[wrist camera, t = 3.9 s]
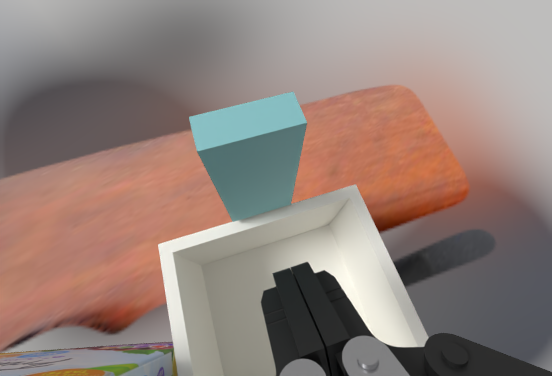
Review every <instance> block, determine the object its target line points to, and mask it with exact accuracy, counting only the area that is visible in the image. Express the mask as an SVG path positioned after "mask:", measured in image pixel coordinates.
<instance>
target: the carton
mask: <svg viewBox="0 0 552 376" xmlns="http://www.w3.org/2000/svg"><path fill="white" fill-rule="evenodd" d="M158 247H159V253H160V260H161V267H162V273H163V280H164V286H165V293H166V300H167V306H168V313H169V319H170V326H171V333H172V339H173V346H174V352H175V359H176V366H177V372H178V376H276V367H275V363H274V358H273V354H272V350H271V345H270V341H269V336H268V332H267V328H266V323H265V319H264V315H263V310H262V306H261V299H262V295H263V291H264V290H267V289H270V288H273V287H276V285H275V281H274V278H273V274H272V273H275V272H278V271H281V270H284V269H287V268H290V269H291V267H293V266H296V265H299V264H302V263H305V262H308V263H309V264H310V266H311V268H312V270H313V271H314V273H317V272H320V271H323V270H325V271H327V272H328V273H330V274H331V275H333V276H334V277H335V278H336V280H337V281H338V283H339V284H340V286H341V288H342V289H343V290H344V292H345V293H346V295H347V297H348V298H349V300H350V301H351V303H352V304H353V306H354V307H355V309H356V310H357V312H358V313H359V315H360V317H361V318H362V320H363V321H364V323H365V324H366V326H367V327H368V329H369V330H370V332H371V333H372V334H373V335H374V336H375V337H376V338H377V339H378V340H380V341H382V342H383V343H385V344H388V345H391V346H395V347H424V346H425V343H426V341H427V340H428V338H429V337H428V335H427V333H426V331H425V329H424V327H423V325H422V323H421V321H420V318H419V317H418V314H417V312H416V310H415V308H414V306H413V304H412V302H411V300H410V297H409V295H408V293H407V291H406V289H405V287H404V285H403V283H402V281H401V279H400V276H399V274H398V272H397V270H396V268H395V266H394V264H393V262H392V260H391V258H390V255H389V254H388V251H387V249H386V247H385V246H384V243H383V241H382V239H381V237H380V234H379V232H378V230H377V228H376V226H375V224H374V222H373V220H372V218H371V216H370V213H369V211H368V209H367V207H366V205H365V203H364V201H363V199H362V197H361V195H360V192H359V190H358V188H357V186H356V184H355V185H352V186H349V187H345V188H342V189H339V190H336V191H332V192H329V193H326V194H322V195H319V196H316V197H312V198H309V199H306V200H303V201H299V202H296V203H293V204H291V205H287V206H284V207H281V208H277V209H274V210H271V211H268V212H264V213H261V214H258V215H254V216H251V217H248V218H244V219H241V220H238V221H235V222H230V223H227V224H223V225H220V226H217V227H213V228H210V229H207V230H204V231H200V232H197V233H194V234H190V235H187V236H184V237H180V238H177V239H174V240H171V241H167V242H164V243H161V244H158Z"/></svg>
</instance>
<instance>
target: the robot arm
mask: <svg viewBox="0 0 552 376" xmlns="http://www.w3.org/2000/svg"><path fill="white" fill-rule="evenodd" d="M272 274H273V278H274V281H275V285H276V287H273V288H270V289H267V290H264V291H263V295H262V299H261V306H262V310H263V315H264V319H265V323H266V328H267V332H268V336H269V341H270V345H271V350H272V354H273V358H274V363H275V367H276V376H552V372H550V371H547V370H545V369H542V368H539V367H536V366H534V365H532V364H529V363H526V362H524V361H521V360H519V359H516V358H513V357H511V356H508V355H506V354H503V353H500V352H498V351H495V350H493V349H490V348H488V347H485V346H482V345H480V344H477V343H474V342H472V341H469V340H467V339H464V338H462V337H459V336H456V335H453V334H447V333H440V334H435V335H433V336H431V337H430V338H428V340H427V341H426V343H425V346H424V347H395V346H391V345H388V344H385V343H383V342H382V341H380V340H378V339H377V338H376V337H375V336H374V335H373V334H372V333H371V332H370V330H369V329H368V327H367V326H366V324H365V323H364V321H363V320H362V318H361V317H360V315H359V313H358V312H357V310H356V309H355V307H354V306H353V304H352V303H351V301H350V300H349V298H348V297H347V295H346V293H345V292H344V290H343V289H342V288H341V286H340V284H339V283H338V281H337V280H336V278H335V277H334V276H333V275H331V274H330V273H328V272H327V271H325V270H323V271H320V272H317V273H314V271H313V270H312V268H311V266H310V264H309V263H308V262H305V263H302V264H299V265H296V266H293V267H291V269H290V268H287V269H284V270H281V271H278V272H275V273H272Z"/></svg>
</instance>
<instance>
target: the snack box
mask: <svg viewBox="0 0 552 376" xmlns="http://www.w3.org/2000/svg"><path fill="white" fill-rule="evenodd" d="M0 376H178V372H177V366H176V359H175V352H174V346H173V342H162V343H146V344H145V343H144V344H129V345H114V346H100V347H87V348H75V349H59V350H43V351H28V352H14V353H0Z"/></svg>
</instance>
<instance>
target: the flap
mask: <svg viewBox="0 0 552 376" xmlns="http://www.w3.org/2000/svg"><path fill="white" fill-rule="evenodd" d="M189 119H190V124H191V128H192V132H193V136H194V140H195V145H196V149H197V152H198V154H199V156H200V158H201V160H202V162H203V164H204V166H205V168H206V170H207V172H208V174H209V176H210V178H211V180H212V182H213V184H214V186H215V187H216V189H217V191H218V193H219V195H220V197H221V199H222V201H223V203H224V205H225V207H226V209H227V211H228V213H229V215H230V217H231V219H232V221H233V222H235V221H238V220H241V219H244V218H248V217H251V216H254V215H258V214H261V213H264V212H268V211H271V210H274V209H277V208H281V207H284V206H287V205H291V201H292V196H293V191H294V186H295V181H296V176H297V171H298V166H299V161H300V156H301V151H302V146H303V141H304V136H305V130H306V125H307V121H306V119H305V117H304V115H303V112H302V110H301V108H300V106H299V103H298V101H297V99H296V97H295V94H294V92H290V93H285V94H281V95H277V96H273V97H269V98H265V99H261V100H257V101H253V102H249V103H244V104H241V105H236V106H232V107H228V108H224V109H220V110H216V111H212V112H208V113H204V114H199V115H195V116H191V117H189Z"/></svg>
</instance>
